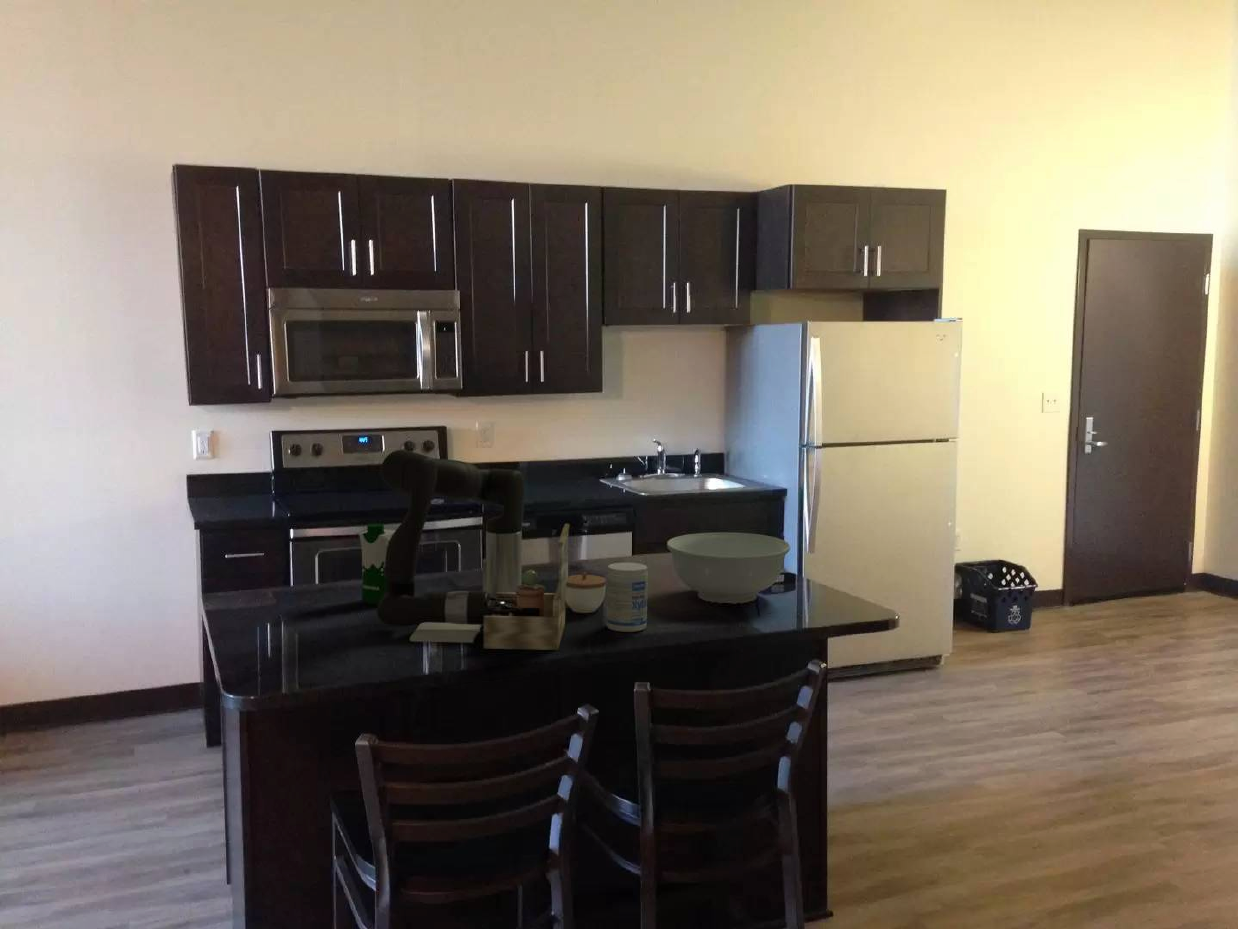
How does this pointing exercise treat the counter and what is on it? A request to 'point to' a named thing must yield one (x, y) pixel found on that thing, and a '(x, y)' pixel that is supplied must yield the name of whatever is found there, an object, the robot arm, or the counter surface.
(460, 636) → the paving slab
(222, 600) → the counter surface
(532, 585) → the terracotta pot
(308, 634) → the counter surface
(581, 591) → the lidded jar
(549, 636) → the cold frame
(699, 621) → the counter surface
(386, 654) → the counter surface
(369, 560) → the milk carton
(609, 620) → the supplement tub
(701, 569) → the bowl
